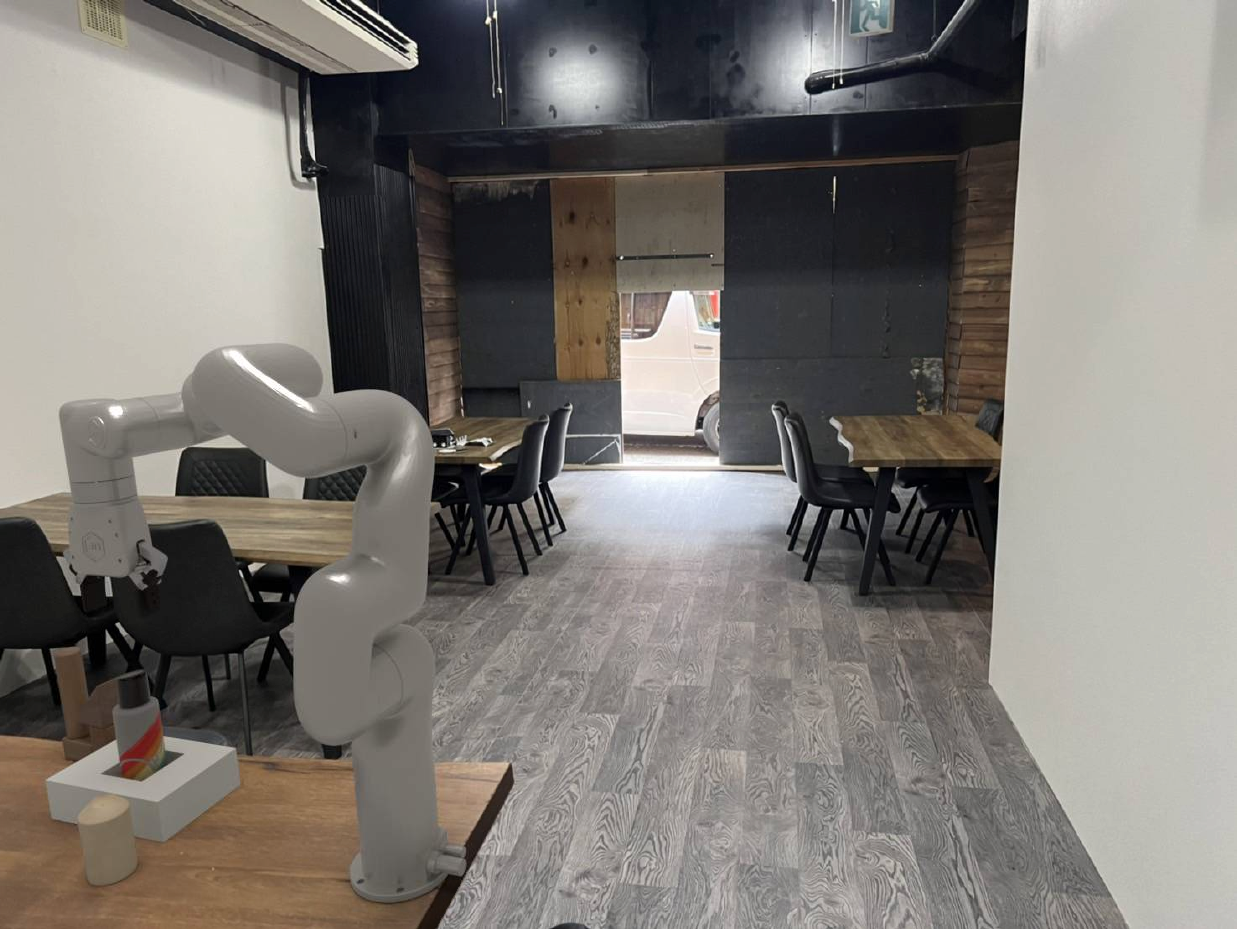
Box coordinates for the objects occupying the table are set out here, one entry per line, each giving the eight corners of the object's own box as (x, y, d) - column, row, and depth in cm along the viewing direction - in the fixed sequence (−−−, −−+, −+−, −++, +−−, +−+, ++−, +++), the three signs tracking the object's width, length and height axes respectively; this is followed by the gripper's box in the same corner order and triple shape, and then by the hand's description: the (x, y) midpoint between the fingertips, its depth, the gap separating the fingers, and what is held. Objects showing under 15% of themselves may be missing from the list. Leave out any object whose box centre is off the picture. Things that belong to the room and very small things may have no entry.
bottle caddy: (240, 785, 121) (236, 748, 120) (163, 842, 108) (157, 802, 107) (136, 766, 127) (131, 730, 126) (51, 818, 114) (45, 780, 113)
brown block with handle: (109, 771, 126) (93, 663, 122) (64, 759, 130) (46, 653, 127) (131, 759, 129) (116, 653, 126) (86, 747, 133) (70, 644, 130)
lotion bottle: (139, 817, 114) (120, 685, 110) (118, 805, 117) (99, 676, 113) (179, 797, 118) (161, 669, 115) (158, 786, 121) (140, 661, 118)
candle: (101, 892, 99) (89, 818, 97) (78, 877, 102) (66, 805, 100) (146, 866, 103) (136, 795, 102) (124, 852, 106) (113, 783, 105)
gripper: (30, 494, 108) (50, 616, 111) (130, 499, 103) (148, 626, 106) (81, 483, 115) (99, 598, 118) (177, 487, 110) (193, 606, 113)
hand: (122, 611), depth 112 cm, fingers open, 9 cm apart
